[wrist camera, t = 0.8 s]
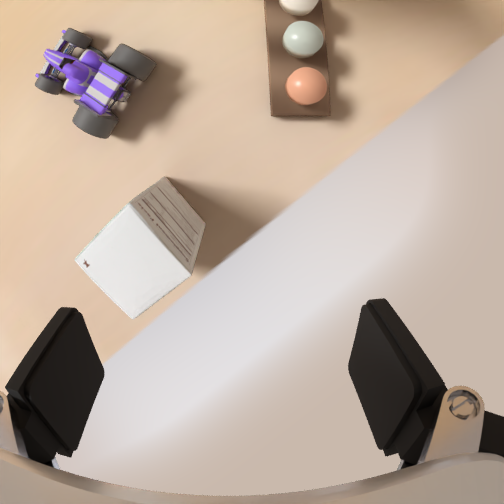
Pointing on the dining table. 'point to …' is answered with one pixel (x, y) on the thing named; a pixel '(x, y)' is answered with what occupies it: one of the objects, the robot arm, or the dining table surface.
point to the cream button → (298, 6)
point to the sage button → (302, 39)
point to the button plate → (292, 61)
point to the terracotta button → (306, 86)
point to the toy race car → (93, 79)
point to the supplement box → (145, 249)
